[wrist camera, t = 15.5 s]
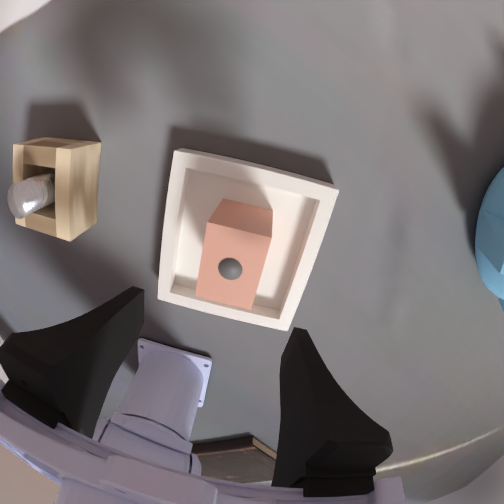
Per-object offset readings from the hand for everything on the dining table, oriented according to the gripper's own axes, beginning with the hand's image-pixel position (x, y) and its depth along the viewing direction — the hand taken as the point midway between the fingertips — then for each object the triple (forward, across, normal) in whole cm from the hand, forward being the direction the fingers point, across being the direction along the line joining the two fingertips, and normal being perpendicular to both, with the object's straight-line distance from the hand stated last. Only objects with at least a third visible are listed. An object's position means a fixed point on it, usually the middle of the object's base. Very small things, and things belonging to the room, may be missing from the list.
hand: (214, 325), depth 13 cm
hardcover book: (+11, -5, +42) cm, 44 cm away
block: (+9, 0, -1) cm, 9 cm away
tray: (+10, 0, 0) cm, 10 cm away
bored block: (+10, +16, -2) cm, 19 cm away
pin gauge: (+10, +16, -2) cm, 19 cm away
